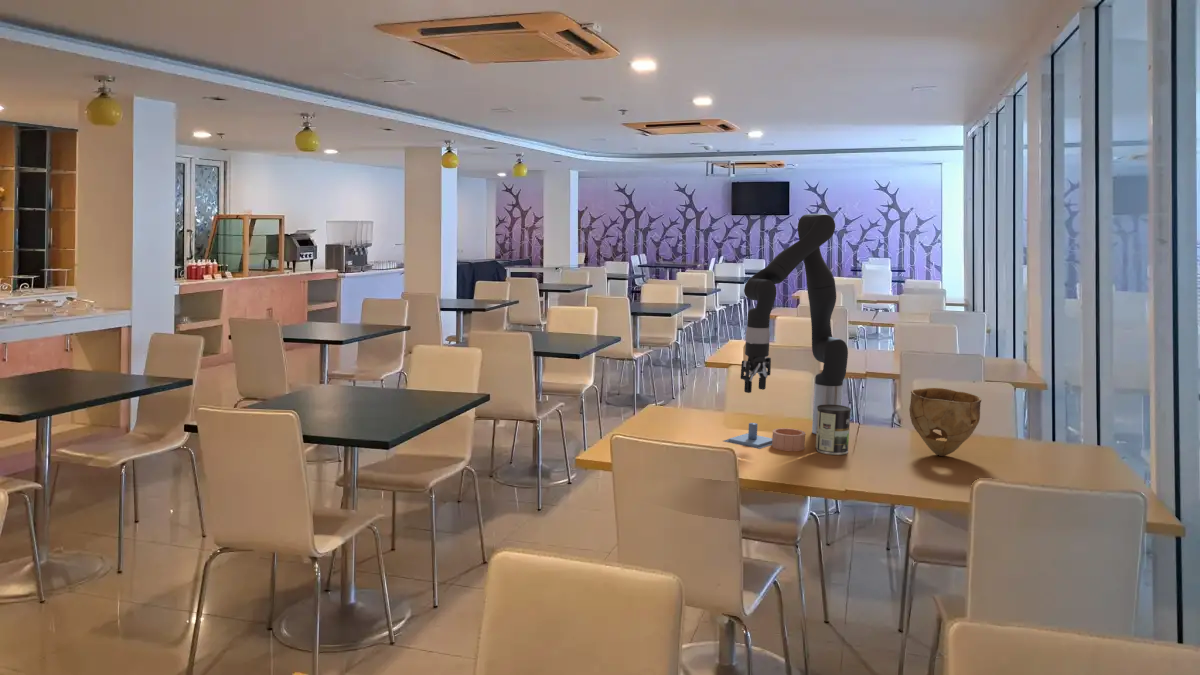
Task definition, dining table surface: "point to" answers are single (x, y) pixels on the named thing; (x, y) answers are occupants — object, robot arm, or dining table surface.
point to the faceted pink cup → (788, 439)
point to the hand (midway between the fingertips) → (754, 390)
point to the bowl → (944, 417)
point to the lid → (751, 437)
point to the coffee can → (832, 429)
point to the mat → (749, 445)
